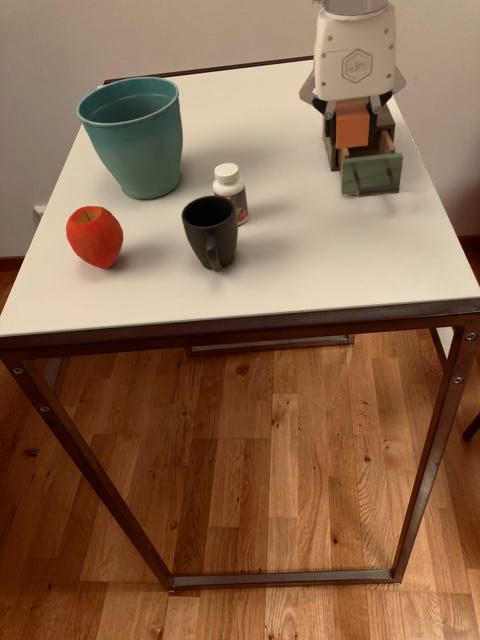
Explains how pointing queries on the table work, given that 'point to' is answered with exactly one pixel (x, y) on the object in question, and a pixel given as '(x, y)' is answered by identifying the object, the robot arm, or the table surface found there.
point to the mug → (212, 230)
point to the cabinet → (383, 122)
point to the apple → (95, 235)
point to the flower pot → (137, 133)
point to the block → (351, 125)
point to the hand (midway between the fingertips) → (349, 137)
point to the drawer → (370, 167)
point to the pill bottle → (232, 188)
